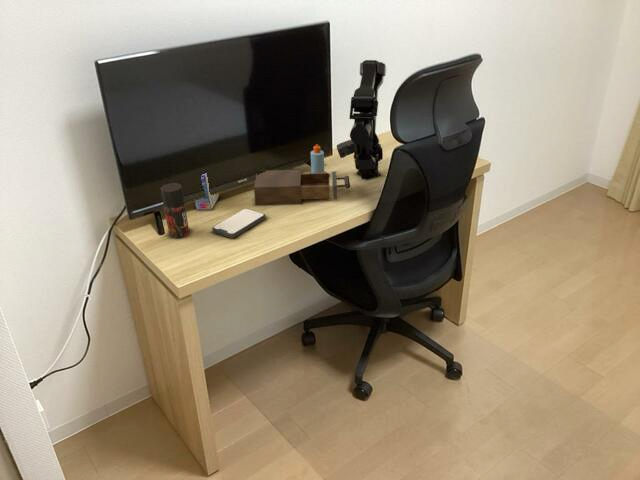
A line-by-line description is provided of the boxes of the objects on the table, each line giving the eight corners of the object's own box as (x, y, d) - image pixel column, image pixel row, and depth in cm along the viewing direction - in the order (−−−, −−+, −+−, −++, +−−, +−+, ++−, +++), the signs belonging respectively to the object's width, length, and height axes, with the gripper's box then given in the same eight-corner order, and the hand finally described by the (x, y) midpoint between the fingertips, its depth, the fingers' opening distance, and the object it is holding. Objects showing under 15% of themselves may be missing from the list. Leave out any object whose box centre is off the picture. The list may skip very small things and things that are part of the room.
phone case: (245, 212, 183) (210, 232, 171) (245, 207, 182) (210, 227, 171) (267, 218, 179) (233, 240, 167) (267, 214, 178) (232, 235, 166)
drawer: (348, 183, 197) (348, 170, 195) (350, 198, 186) (350, 185, 184) (295, 185, 197) (294, 172, 195) (294, 200, 186) (293, 187, 184)
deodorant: (171, 228, 174) (163, 183, 167) (191, 228, 174) (183, 182, 167) (166, 238, 169) (158, 192, 162) (186, 238, 169) (179, 191, 161)
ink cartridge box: (203, 196, 193) (197, 155, 186) (219, 196, 193) (214, 156, 186) (194, 209, 185) (188, 167, 178) (211, 210, 184) (205, 168, 177)
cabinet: (301, 186, 198) (301, 169, 195) (301, 203, 186) (300, 185, 183) (258, 187, 198) (257, 170, 195) (255, 205, 186) (253, 187, 183)
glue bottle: (319, 172, 208) (318, 141, 202) (326, 176, 204) (326, 145, 199) (309, 175, 206) (307, 144, 200) (315, 179, 202) (314, 148, 196)
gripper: (336, 124, 190) (337, 168, 198) (339, 144, 174) (340, 191, 181) (370, 123, 190) (369, 167, 198) (376, 143, 174) (375, 190, 181)
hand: (363, 178), depth 190 cm, fingers closed
